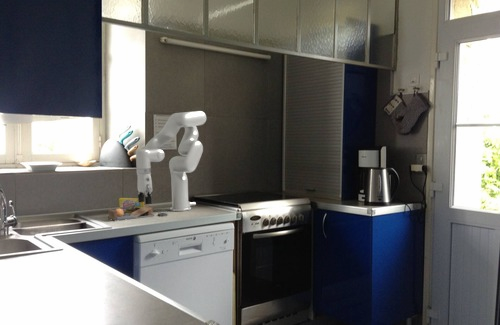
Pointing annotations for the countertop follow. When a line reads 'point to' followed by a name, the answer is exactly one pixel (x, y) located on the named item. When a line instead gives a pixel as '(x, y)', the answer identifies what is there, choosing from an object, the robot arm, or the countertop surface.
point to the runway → (131, 216)
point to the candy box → (130, 204)
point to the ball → (119, 212)
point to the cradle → (162, 214)
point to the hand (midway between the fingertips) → (144, 202)
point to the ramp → (144, 210)
